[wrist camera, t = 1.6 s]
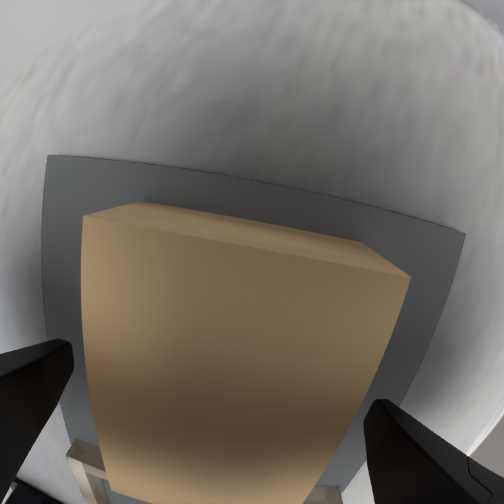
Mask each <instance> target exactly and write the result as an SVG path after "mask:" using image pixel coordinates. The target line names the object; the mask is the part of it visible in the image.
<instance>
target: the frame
mask: <svg viewBox="0 0 504 504" xmlns="http://www.w3.org/2000/svg"><path fill="white" fill-rule="evenodd" d="M66 457H67V460H68V463H69V465H70V468H71V470H72V473H73V475H74V477H75V480H76V482H77V484H78V486H79V489H80V491H81V493H82V495H83V497H84V499H85V501H86V503H87V504H109V502H108V499H107V496H106V493H105V490H104V487H103V484H102V481H101V478H103V479H105V480H108V477H107V474H106V470H105V466H104V462H103V458H102V454H101V450H100V448H99V447H96V446H93V445H91V444H88V443H86V442H83V441H81V440H78V439H75V441H74V442H73V444H72V446H71V447H70V449H69V451H68V452H67V454H66ZM303 504H343V502H342V497H341V492H340V488H339V487H313V489H312V490H311V492H310V493H309V495H308V496H307V498H306V499H305V501H304V502H303Z"/></svg>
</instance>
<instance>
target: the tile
mask: <svg viewBox="0 0 504 504" xmlns="http://www.w3.org/2000/svg"><path fill="white" fill-rule="evenodd" d="M410 280H411V277H410V276H409V275H407V274H406V273H405V272H403V271H402V270H400V269H399V268H398V267H396V266H395V265H393V264H392V263H391V262H389V261H388V260H386V259H385V258H384V257H382V256H381V255H379V254H378V253H376V252H375V251H373V250H372V249H371V248H369V247H368V246H366V245H365V244H363V243H361V242H357V241H352V240H347V239H343V238H338V237H333V236H328V235H324V234H319V233H314V232H309V231H304V230H299V229H294V228H289V227H284V226H279V225H273V224H268V223H263V222H258V221H252V220H247V219H242V218H236V217H231V216H225V215H220V214H214V213H209V212H203V211H197V210H191V209H186V208H180V207H174V206H168V205H162V204H156V203H150V202H143V201H140V202H135V203H131V204H127V205H123V206H119V207H115V208H111V209H107V210H104V211H100V212H96V213H92V214H88V215H85V216H83V226H82V246H81V309H82V328H83V342H84V353H85V363H86V371H87V379H88V387H89V393H90V400H91V406H92V412H93V417H94V422H95V427H96V432H97V437H98V442H99V446H100V450H101V454H102V458H103V462H104V466H105V470H106V474H107V477H108V481H109V484H110V487H111V491H114V492H117V493H120V494H123V495H126V496H129V497H132V498H135V499H138V500H142V501H145V502H149V503H152V504H303V502H304V501H305V499H306V498H307V496H308V495H309V493H310V492H311V490H312V489H313V487H314V486H315V484H316V483H317V481H318V480H319V478H320V477H321V475H322V473H323V472H324V470H325V469H326V467H327V465H328V464H329V462H330V460H331V459H332V457H333V455H334V454H335V452H336V450H337V449H338V447H339V445H340V443H341V441H342V440H343V438H344V436H345V434H346V432H347V431H348V429H349V427H350V425H351V423H352V421H353V419H354V417H355V415H356V413H357V411H358V409H359V407H360V405H361V403H362V401H363V399H364V397H365V395H366V393H367V391H368V389H369V387H370V384H371V382H372V380H373V378H374V376H375V373H376V371H377V369H378V367H379V364H380V362H381V359H382V357H383V355H384V352H385V350H386V347H387V345H388V342H389V340H390V337H391V335H392V332H393V329H394V327H395V324H396V321H397V319H398V316H399V313H400V310H401V307H402V304H403V301H404V298H405V295H406V292H407V289H408V286H409V283H410Z"/></svg>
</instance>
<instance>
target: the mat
mask: <svg viewBox="0 0 504 504" xmlns="http://www.w3.org/2000/svg"><path fill="white" fill-rule="evenodd" d="M140 201H143V202H150V203H156V204H162V205H168V206H174V207H180V208H186V209H191V210H197V211H203V212H209V213H214V214H220V215H225V216H231V217H236V218H242V219H247V220H252V221H258V222H263V223H268V224H273V225H279V226H284V227H289V228H294V229H299V230H304V231H309V232H314V233H319V234H324V235H328V236H333V237H338V238H343V239H347V240H352V241H357V242H361V243H363V244H365V245H366V246H368V247H369V248H371V249H372V250H373V251H375V252H376V253H378V254H379V255H381V256H382V257H384V258H385V259H386V260H388V261H389V262H391V263H392V264H393V265H395V266H396V267H398V268H399V269H400V270H402V271H403V272H405V273H406V274H407V275H409V276H410V277H411V280H410V283H409V286H408V289H407V292H406V295H405V298H404V301H403V304H402V307H401V310H400V313H399V316H398V319H397V321H396V324H395V327H394V329H393V332H392V335H391V337H390V340H389V342H388V345H387V347H386V350H385V352H384V355H383V357H382V359H381V362H380V364H379V367H378V369H377V371H376V373H375V376H374V378H373V380H372V382H371V384H370V387H369V389H368V391H367V393H366V395H365V397H364V399H363V401H362V403H361V405H360V407H359V409H358V411H357V413H356V415H355V417H354V419H353V421H352V423H351V425H350V427H349V429H348V431H347V432H346V434H345V436H344V438H343V440H342V441H341V443H340V445H339V447H338V449H337V450H336V452H335V454H334V455H333V457H332V459H331V460H330V462H329V464H328V465H327V467H326V469H325V470H324V472H323V473H322V475H321V477H320V478H319V480H318V481H317V483H316V484H315V486H314V487H339V488H340V492H341V493H342V492H343V491H344V489H345V488H346V487H347V486H348V484H349V483H350V482H351V480H352V479H353V477H354V476H355V475H356V473H357V472H358V471H359V469H360V468H361V466H362V465H363V463H364V462H365V461H366V459H367V458H366V447H365V438H364V429H363V422H364V418H365V416H366V414H367V412H368V410H369V408H370V407H371V405H372V403H373V401H374V400H375V399H388V400H390V401H391V402H393V403H394V404H395V405H397V406H398V407H399V405H400V403H401V401H402V400H403V398H404V396H405V394H406V392H407V390H408V388H409V386H410V384H411V382H412V380H413V378H414V376H415V374H416V372H417V370H418V368H419V366H420V364H421V361H422V359H423V357H424V355H425V353H426V350H427V348H428V346H429V343H430V341H431V339H432V336H433V334H434V331H435V329H436V326H437V324H438V321H439V319H440V316H441V313H442V311H443V308H444V305H445V302H446V300H447V297H448V294H449V291H450V288H451V285H452V282H453V278H454V275H455V272H456V269H457V265H458V262H459V258H460V255H461V251H462V247H463V244H464V240H465V236H466V234H465V233H463V232H460V231H457V230H453V229H450V228H447V227H444V226H440V225H437V224H434V223H430V222H427V221H423V220H420V219H417V218H413V217H409V216H406V215H402V214H399V213H395V212H391V211H387V210H384V209H380V208H376V207H372V206H368V205H364V204H360V203H356V202H352V201H348V200H344V199H339V198H335V197H331V196H326V195H322V194H317V193H313V192H308V191H304V190H299V189H294V188H289V187H285V186H280V185H275V184H269V183H264V182H259V181H254V180H248V179H243V178H237V177H231V176H226V175H220V174H214V173H207V172H201V171H194V170H188V169H181V168H174V167H167V166H159V165H152V164H144V163H135V162H127V161H117V160H108V159H97V158H86V157H74V156H61V155H48V157H47V164H46V173H45V182H44V194H43V208H42V233H41V261H42V286H43V301H44V312H45V322H46V330H47V338H48V341H50V340H54V339H57V338H61V339H64V340H67V341H69V342H70V343H71V344H72V347H73V356H74V371H73V373H72V375H71V377H70V379H69V381H68V383H67V385H66V387H65V389H64V391H63V393H62V395H61V398H60V400H59V401H60V405H61V409H62V413H63V417H64V421H65V424H66V428H67V431H68V435H69V438H70V441H71V444H73V442H74V441H75V439H78V440H81V441H83V442H86V443H88V444H91V445H93V446H96V447H99V448H100V446H99V442H98V437H97V432H96V427H95V422H94V417H93V412H92V406H91V400H90V393H89V387H88V379H87V371H86V363H85V353H84V342H83V328H82V309H81V246H82V226H83V216H85V215H88V214H92V213H96V212H100V211H104V210H107V209H111V208H115V207H119V206H123V205H127V204H131V203H135V202H140ZM101 481H102V484H103V487H104V490H105V493H106V496H107V499H108V502H109V504H152V503H149V502H145V501H142V500H138V499H135V498H132V497H129V496H126V495H123V494H120V493H117V492H114V491H111V487H110V484H109V481H108V480H105V479H103V478H101Z"/></svg>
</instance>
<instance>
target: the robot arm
mask: <svg viewBox="0 0 504 504" xmlns="http://www.w3.org/2000/svg"><path fill="white" fill-rule="evenodd" d="M73 371H74V356H73V347H72V344H71V343H70V342H69V341H67V340H64V339H61V338H57V339H54V340H50V341H47V342H43V343H40V344H36V345H32V346H29V347H25V348H21V349H18V350H14V351H10V352H6V353H2V354H0V504H2V502H3V500H4V498H5V496H6V494H7V492H8V490H9V488H10V486H11V488H12V489H13V491H12V492H11V494H10V496H9V497H8V499H7V500H6V502H5V503H4V504H60V503H58V502H56V501H54V500H52V499H50V498H48V497H46V496H44V495H43V494H41V493H39V492H37V491H35V490H34V489H32V488H30V487H28V486H27V485H25V484H23V483H22V482H20V481H18V480H17V479H15V476H16V475H17V473H18V471H19V469H20V467H21V465H22V464H23V462H24V460H25V458H26V457H27V455H28V453H29V451H30V450H31V448H32V446H33V444H34V443H35V441H36V439H37V438H38V436H39V434H40V433H41V431H42V429H43V428H44V426H45V424H46V423H47V421H48V419H49V418H50V416H51V414H52V413H53V411H54V409H55V408H56V406H57V404H58V402H59V400H60V398H61V395H62V393H63V391H64V389H65V387H66V385H67V383H68V381H69V379H70V377H71V375H72V373H73ZM363 429H364V438H365V447H366V458H367V466H368V471H369V476H370V481H371V486H372V491H373V496H374V501H375V504H504V478H503V477H501V476H499V475H497V474H496V473H494V472H492V471H490V470H489V469H487V468H485V467H484V466H482V465H481V464H479V463H478V462H476V461H475V460H473V459H472V458H470V457H469V456H467V455H466V454H464V453H463V452H461V451H460V450H458V449H457V448H456V447H454V446H453V445H451V444H450V443H448V442H447V441H445V440H444V439H443V438H441V437H440V436H438V435H437V434H436V433H434V432H433V431H431V430H430V429H428V428H427V427H426V426H424V425H423V424H421V423H420V422H419V421H417V420H416V419H415V418H413V417H412V416H410V415H409V414H408V413H406V412H405V411H404V410H402V409H401V408H399V407H398V406H397V405H395V404H394V403H393V402H391V401H390V400H388V399H375V400H374V401H373V403H372V405H371V407H370V408H369V410H368V412H367V414H366V416H365V418H364V422H363Z"/></svg>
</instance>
